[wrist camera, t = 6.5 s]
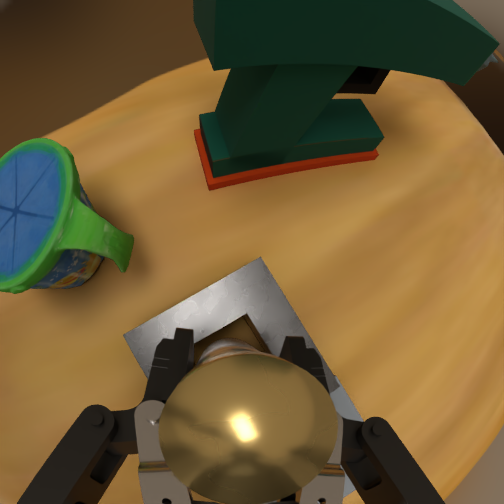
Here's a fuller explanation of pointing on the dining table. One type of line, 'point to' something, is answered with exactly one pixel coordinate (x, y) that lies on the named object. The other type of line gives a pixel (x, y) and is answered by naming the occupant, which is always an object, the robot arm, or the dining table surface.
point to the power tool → (318, 76)
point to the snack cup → (51, 222)
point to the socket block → (228, 316)
